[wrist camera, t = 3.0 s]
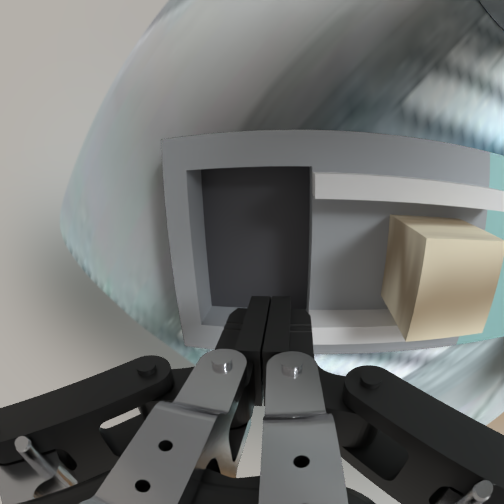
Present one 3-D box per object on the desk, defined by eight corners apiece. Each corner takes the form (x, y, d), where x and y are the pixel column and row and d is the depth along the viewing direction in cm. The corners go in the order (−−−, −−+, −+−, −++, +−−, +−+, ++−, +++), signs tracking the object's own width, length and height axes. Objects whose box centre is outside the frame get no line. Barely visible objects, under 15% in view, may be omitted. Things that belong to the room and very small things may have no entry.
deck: (180, 141, 18) (144, 137, 13) (532, 168, 14) (569, 175, 9) (197, 324, 22) (175, 362, 18) (506, 316, 18) (532, 343, 13)
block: (389, 214, 15) (426, 238, 10) (459, 218, 14) (506, 241, 9) (380, 295, 16) (405, 341, 11) (446, 292, 15) (482, 332, 11)
